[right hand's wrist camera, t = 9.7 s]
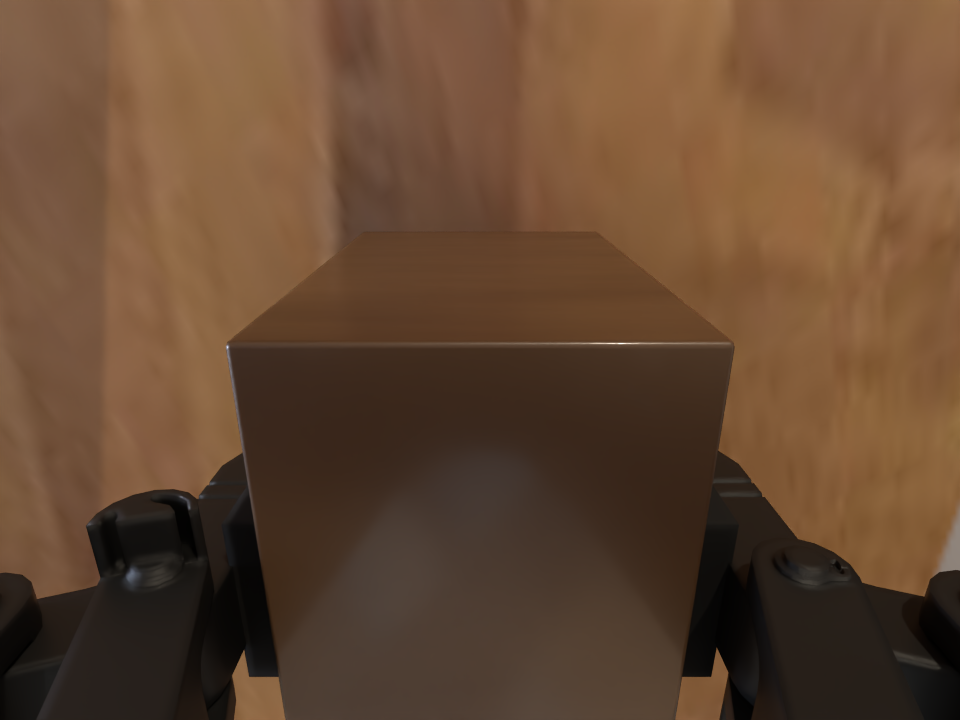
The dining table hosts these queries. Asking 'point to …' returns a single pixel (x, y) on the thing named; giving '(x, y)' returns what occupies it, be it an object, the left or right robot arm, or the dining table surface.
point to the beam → (480, 478)
